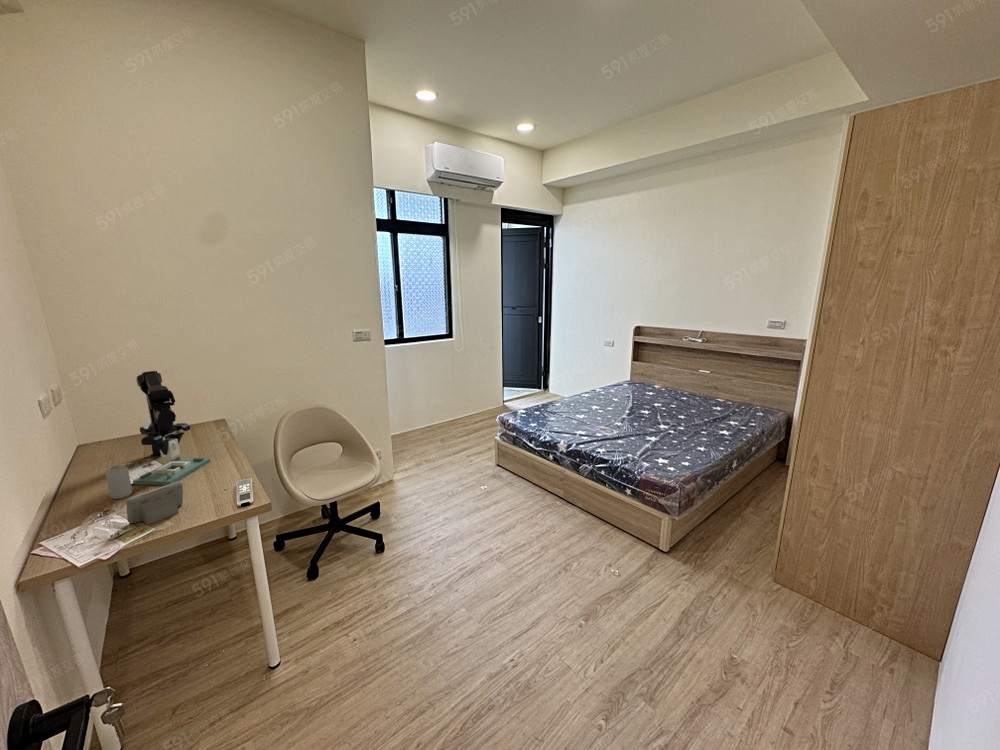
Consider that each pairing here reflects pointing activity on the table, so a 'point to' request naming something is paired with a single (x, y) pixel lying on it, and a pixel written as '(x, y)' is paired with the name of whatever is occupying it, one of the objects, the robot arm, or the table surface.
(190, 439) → the table surface
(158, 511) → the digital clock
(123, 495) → the beverage can
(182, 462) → the board
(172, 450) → the plug
